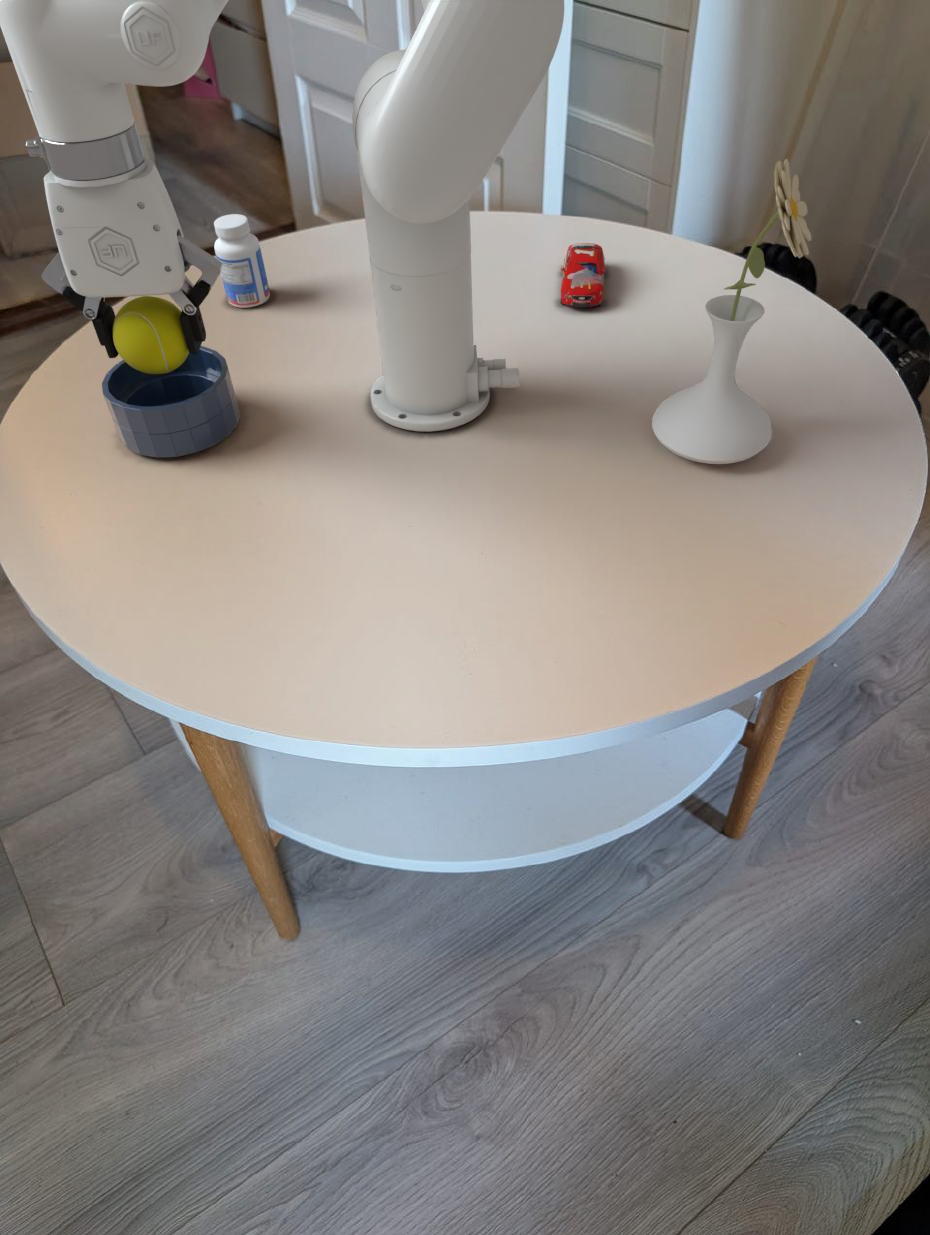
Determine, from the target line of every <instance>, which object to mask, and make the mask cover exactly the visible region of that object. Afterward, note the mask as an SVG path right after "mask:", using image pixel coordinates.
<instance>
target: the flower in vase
mask: <svg viewBox="0 0 930 1235" xmlns="http://www.w3.org/2000/svg"><path fill="white" fill-rule="evenodd" d="M773 174H774V176H773V177H774V191H775V201H776V206H777V209H776V213H774V215H773V216H772V217H771V218H770V220H769V221H768V222H767V224H766V225H765V226H764V228H762V231H760V233H759V235H758V236H757V238H756V239H755V240H754V243H753V244H752V246H751V247H750V250H749V252H748V254H747V258H746V260H745V262H744V265H743V269H742V272H741V275H740V279H739V280H738V281H737V282H735V283H734V284H733V285H729V286H727V287H724V288H723V290H736V293H735V294H725V295H718V296H716V297H713V298H711V299H709V300H708V301H707V302H706V303H705V306H704V307H705V312H706V313H707V315H708V317H709V319H710V322H711V324H712V328H713V329H712V330H713V347H712V348H713V349H712V357H711V362H710V366H709V370H708V373H707V375H706V377H705V378H704V380H702V381H701V382H698V383H696V384H693V385H690V386H688V387H685V388H683V389H681V390H678V391H675V393H673V394H671V395H670V396H668V397H667V398H666V399H664V400H663V401H662V402H661V403H660V404H659V405H658V407H657V408H656V409H655V411H654V413H653V415H652V418H651V427H652V431H653V433H654V435H655V436H656V438H657V440H658V441H659V443H661V445H662V446H663V447H665V448H666V449H667V450H669V451H670V452H671V453H673V454H675V455H676V456H679V457H681V458H684V459H686V460H690V461H692V462H697V463H701V464H711V465H726V464H727V465H729V464H735V463H740V462H743V461H746V460H749V459H751V458H753V457H754V456H756V455H757V454H759V453H760V452H762V451H763V450H764V449H765V448H766V447H767V446H769V443H770V441H771V439H772V435H773V428H772V423H771V419H770V417H769V414H768V413H767V412H766V410H765V409H764V408H763V407H762V405H760V403H759V402H758V401H757V400H756V399H754V398H753V397H752V396H751V395H750V394H748V392H746V391H745V390H743V389H742V388H740V387H739V386H738V385H737V382H736V369H737V363H738V359H739V355H740V351H741V349H742V346H743V343H744V341H745V340H746V336H747V334H748V332H749V331H750V330H751V328H752V327H753V326H754V324H756V322H758V321H759V320H761V319H762V317H763V316H764V315H765V307H764V305H763V304H762V303H760V301H757V300H756V299H754V298H751V297H747V296H744V295H741V294H742V293H741V292H742V289H746V288H749V287H752V286H756V285H757V284H756V283H750V282H749V283H748V282H745V279H746V274H747V272H748V270H749V272H750V273H751V275H752V276H753V277H754V279H759V278H760V277H762V275H763V273H764V271H765V267H766V262H765V254H764V251H763V250H762V249H761V248H759V247H758V245H759V244H760V242H761V241H762V239H764V236H765V235H766V234H767V232H768V231H769V230H770V229H771V227H772V226H773V225H774V223H775V222H776V221H777V220H779V221H780V222H781V228H782V232H783V235H784V238H785V239H786V242H787V244H788V246H789V248H790V251H791V253H792V254H793V256H794V257H795V258H798V259H801V258H803V257H804V255H805V256H810V255H809V254H810V250H809V248H808V245H807V241H808V242H812V234H811V232H810V229H809V228H808V225H807V224H808V223H807V221H806V219H805V218H804V217H805V216H806V215H808V206H807V204H806V202H805V201H803V200H801V193H800V190H799V187H800V181H799V177H798V174H796V173H795V174H793V176H792V178H791V168H790V162H789V159H788V158H785V159H784V161H783V163H782V161H781V160H778V161H776V163H775V168H774V172H773ZM806 240H807V241H806Z"/></svg>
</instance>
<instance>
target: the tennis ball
mask: <svg viewBox="0 0 930 1235" xmlns="http://www.w3.org/2000/svg"><path fill="white" fill-rule="evenodd" d="M181 312H182V310H181V309H179V308H178V307H177V306H176V305H175V304H174V303H173V302H171V301H169V300H167V299H165V298H161V297H158V296H153V295H151V296H137V297H135V298H133V299H131V300H129V301H128V302H126V303H125V304H123V305H122V307H120V308H119V309H118V311H117V313H116V314H115V319H114V322H113V329H112V334H113V341H114V345H115V348H116V350H117V351H118V353H119V354H118V356H120V358H121V359H122V360H124V361H125V362H126V363H127V364H128V365H130V366H131V367H133V368H134V369H136V370H138V371H141V372H144V373H148V374H165V373H169V372H171V371H173V370H175V369H176V368H178V367H179V366H180V365H182V364H183V362H184V361H185V360H186V358H187V356H188V354H189V350H188V347H187V343H186V340H185V336H184V333H183V329H182V326H181V322H180V314H181Z"/></svg>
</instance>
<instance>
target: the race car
mask: <svg viewBox="0 0 930 1235" xmlns="http://www.w3.org/2000/svg"><path fill="white" fill-rule="evenodd" d="M604 254H605V253H604V250H603V248H602V246H601V245H599V244H597V243H589V242H585V243H584V242H581V243H580V242H577V243H573V244H571V245H569V246H568V248H567V251H566V253H565V255H564V258H563V267H562V268H561V269H560V271H561V272H562V278H561V279H562V280H561V287H560V304H562V305H565V306H568V307H574V308H591V307H593V308H594V307H596V306H599V305H600V306H601V305H603V298H604V297H603V296H604V288H605V286H604V282H605V281H604V280H605V273H607V269H605V260H606V258H605V255H604Z"/></svg>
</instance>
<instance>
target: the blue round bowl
mask: <svg viewBox="0 0 930 1235" xmlns="http://www.w3.org/2000/svg"><path fill="white" fill-rule="evenodd" d="M101 390H102V395H103V397H104V401H105V404H106V406H107V408H108V411H109V413H110V416H111V419H112V421H113V424H114V427H115V429H116V432H117V434H118V437H119V439H120V441H121V442H122V444H123V445H124V446H125V447H126V448H127V449H128V450H129V451H132V452H134V453H135V454H138V455H141V456H146V457H152V458H159V459H161V458H177V457H183V456H187V455H191V454H195V453H199V452H202V451H204V450H206V449H208V448H211V447H213V446H216V445H217V444H219V443H220V442H221V441H223V440H224V439H226V438H228V437H229V436H230V435H231V433H232V432H233V431H234V429H236V427H237V426H238V423H239V420H240V416H241V413H240V412H241V411H240V408H239V404H238V401H237V397H236V393H235V389H234V385H233V382H232V377H231V373H230V369H229V366H228V363H227V360H226V358H225V357H224V356H223V355H222V354H220V352H218V351H217V350H215V349H212V348H209V347H208V346H204V345H201V347H200V349H199V352H198V354H196V355H192V354H191V353H189V354H188V356H187V358H186V360H185V361H184V362H183V364H182V365H180V366H179V367H178V368H176V369H175V370H173V371H171V372H169V373H165V374H148V373H144V372H141V371H138V370H136V369H134V368H133V367H131V366H130V365H128V364H127V363H126V362H125V361H124V360H123V359H122V360H120V361H119V362H117V363H116V364H114V365H113V366H112V367H111V369H109V370H108V371H107V372H106V374H105V376H104V378H103V380H102V381H101Z"/></svg>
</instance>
